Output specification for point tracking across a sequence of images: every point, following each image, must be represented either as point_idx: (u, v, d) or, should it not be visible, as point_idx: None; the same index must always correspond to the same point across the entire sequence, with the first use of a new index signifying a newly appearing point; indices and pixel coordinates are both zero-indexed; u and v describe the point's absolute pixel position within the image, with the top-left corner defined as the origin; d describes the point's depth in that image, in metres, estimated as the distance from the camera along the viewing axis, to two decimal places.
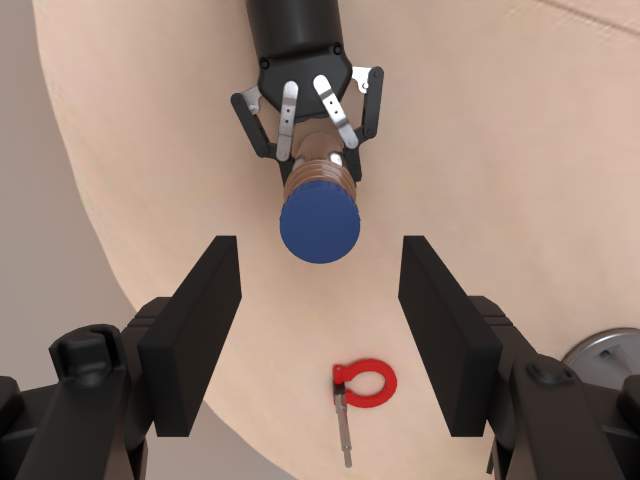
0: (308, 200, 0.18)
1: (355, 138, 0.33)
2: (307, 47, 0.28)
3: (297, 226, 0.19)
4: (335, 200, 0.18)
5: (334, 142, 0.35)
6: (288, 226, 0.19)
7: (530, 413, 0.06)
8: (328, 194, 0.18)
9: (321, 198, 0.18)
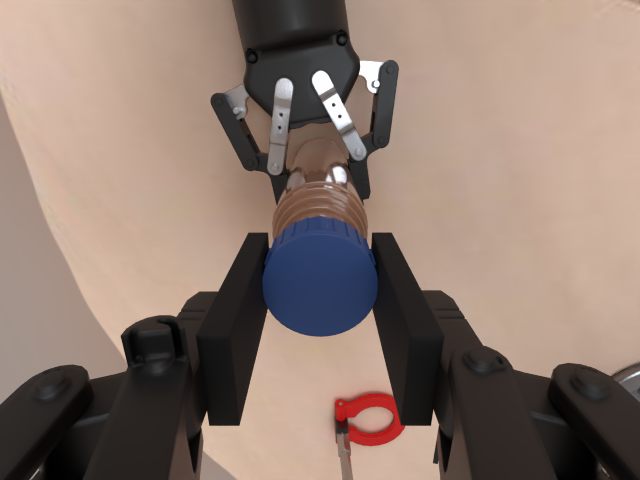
0: (303, 251, 0.12)
1: (363, 147, 0.27)
2: (304, 35, 0.23)
3: (287, 287, 0.13)
4: (343, 251, 0.12)
5: (337, 152, 0.29)
6: (274, 287, 0.13)
7: (465, 403, 0.07)
8: (332, 242, 0.12)
9: (322, 248, 0.12)
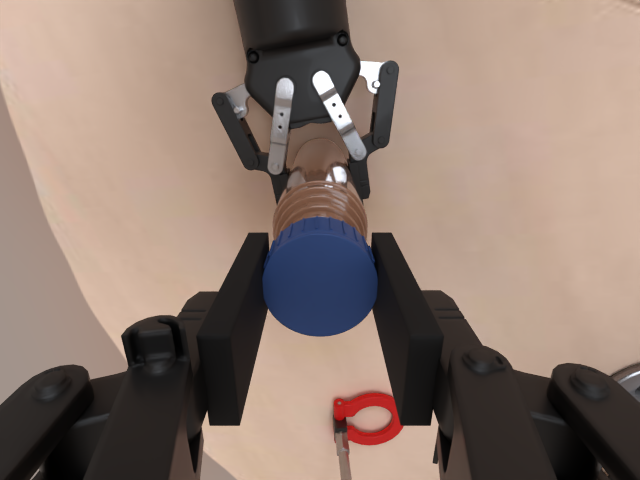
0: (290, 315, 0.13)
1: (363, 147, 0.27)
2: (305, 35, 0.23)
3: (331, 314, 0.13)
4: (273, 285, 0.13)
5: (337, 151, 0.30)
6: (336, 324, 0.13)
7: (465, 403, 0.07)
8: (270, 296, 0.13)
9: (280, 302, 0.13)
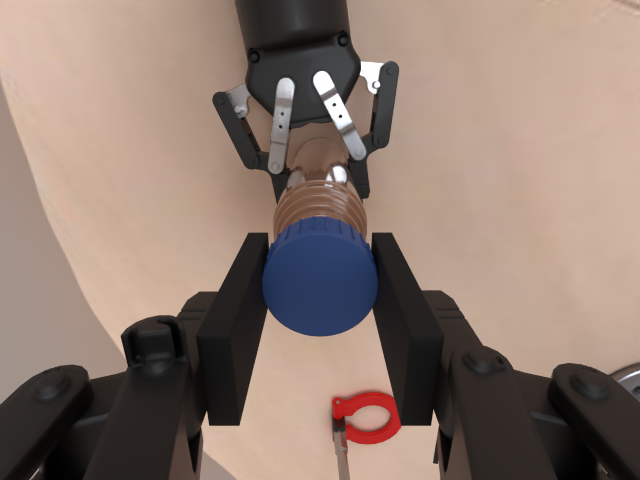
0: (360, 300, 0.13)
1: (363, 147, 0.28)
2: (306, 36, 0.23)
3: (343, 267, 0.13)
4: (335, 324, 0.13)
5: (337, 151, 0.30)
6: (352, 258, 0.12)
7: (465, 403, 0.07)
8: (348, 323, 0.13)
9: (350, 314, 0.13)
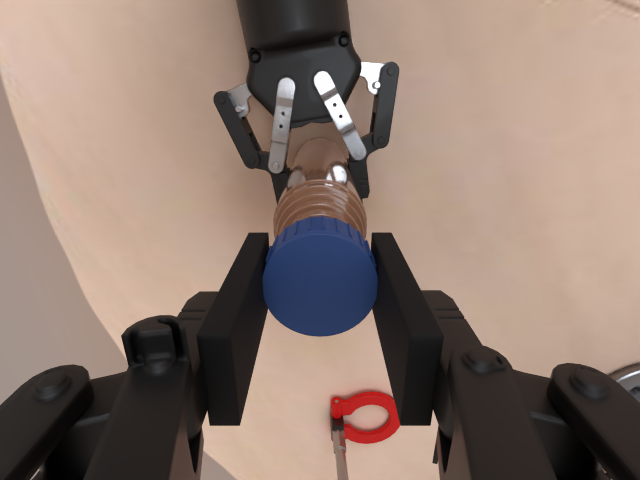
0: (316, 248, 0.12)
1: (363, 147, 0.28)
2: (307, 36, 0.23)
3: (289, 278, 0.13)
4: (354, 258, 0.12)
5: (337, 151, 0.30)
6: (276, 275, 0.13)
7: (465, 403, 0.07)
8: (347, 248, 0.12)
9: (335, 250, 0.12)
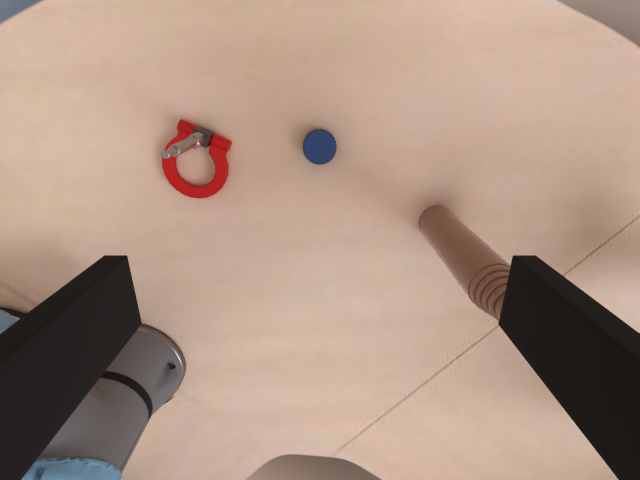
0: (318, 135, 0.45)
1: None
2: None
3: (311, 144, 0.46)
4: (329, 138, 0.45)
5: None
6: (307, 143, 0.45)
7: None
8: (327, 135, 0.45)
9: (323, 136, 0.45)
